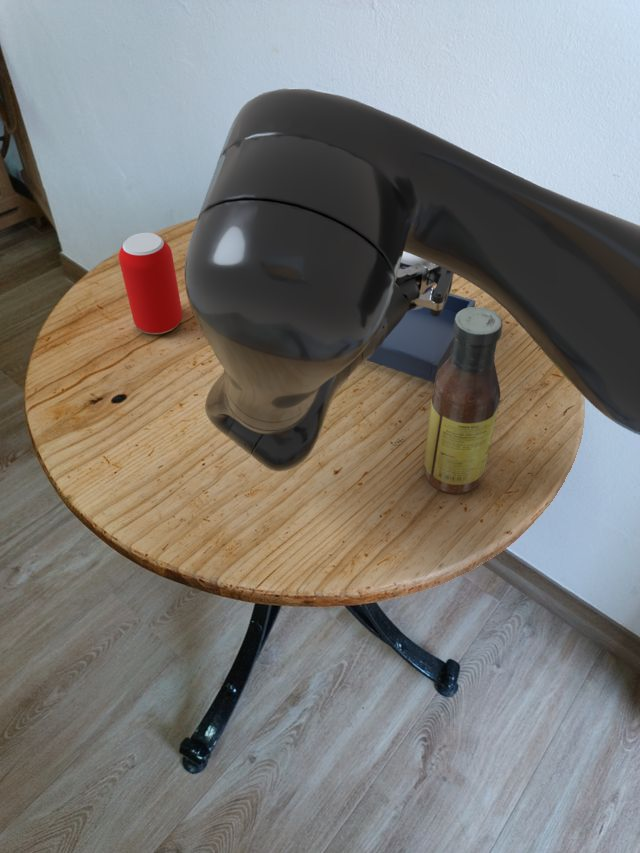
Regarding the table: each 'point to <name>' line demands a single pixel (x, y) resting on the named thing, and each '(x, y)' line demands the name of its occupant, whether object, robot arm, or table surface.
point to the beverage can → (150, 283)
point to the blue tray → (421, 340)
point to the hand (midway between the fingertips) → (422, 245)
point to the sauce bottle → (464, 404)
